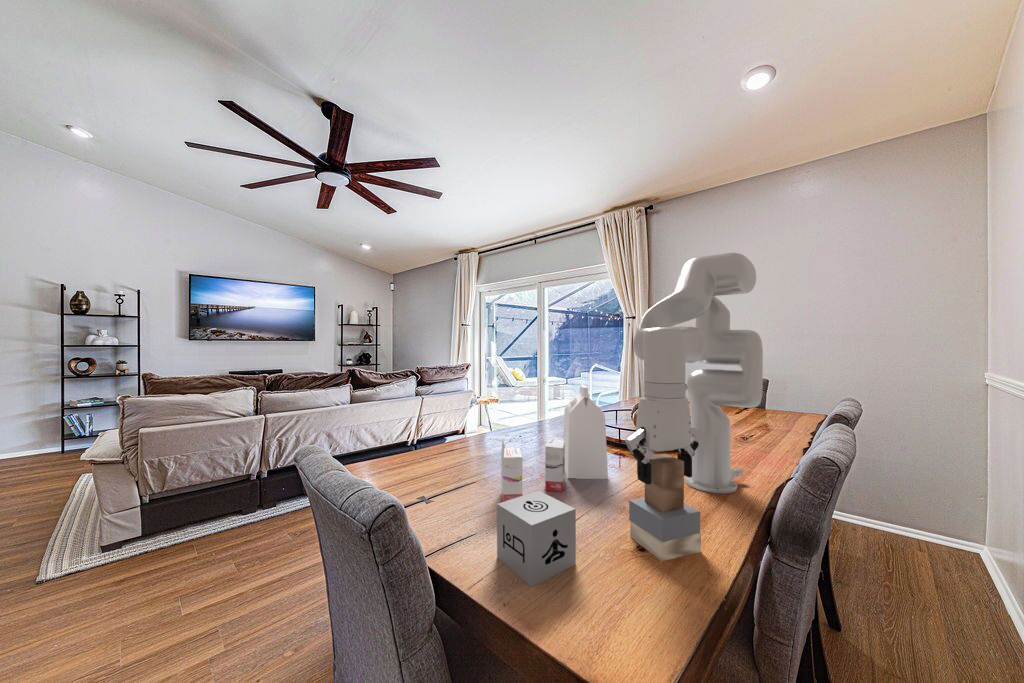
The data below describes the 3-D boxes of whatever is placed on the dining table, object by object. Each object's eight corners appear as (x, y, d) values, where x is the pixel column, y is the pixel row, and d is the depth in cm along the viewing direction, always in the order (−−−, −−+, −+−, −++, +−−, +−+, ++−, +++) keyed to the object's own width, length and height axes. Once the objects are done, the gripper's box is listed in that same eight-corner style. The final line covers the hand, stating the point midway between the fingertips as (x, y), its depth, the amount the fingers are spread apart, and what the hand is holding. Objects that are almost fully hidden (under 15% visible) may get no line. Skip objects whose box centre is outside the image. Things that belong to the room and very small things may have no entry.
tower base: (666, 531, 79) (666, 512, 79) (701, 554, 70) (700, 533, 70) (630, 539, 76) (630, 519, 76) (661, 564, 67) (661, 541, 67)
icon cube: (497, 558, 68) (496, 503, 68) (538, 541, 74) (538, 490, 74) (531, 587, 60) (531, 525, 60) (575, 565, 66) (575, 508, 66)
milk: (608, 479, 108) (607, 388, 108) (567, 479, 108) (567, 388, 108) (598, 465, 120) (598, 384, 120) (562, 465, 120) (562, 384, 120)
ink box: (563, 493, 98) (563, 447, 98) (544, 491, 99) (544, 446, 99) (565, 480, 106) (565, 439, 107) (548, 479, 107) (548, 438, 107)
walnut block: (664, 498, 76) (665, 453, 76) (683, 508, 72) (684, 461, 72) (644, 501, 75) (644, 456, 75) (662, 512, 70) (662, 464, 70)
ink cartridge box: (523, 506, 90) (523, 444, 90) (502, 506, 90) (502, 445, 90) (519, 491, 99) (519, 435, 99) (500, 492, 98) (500, 436, 98)
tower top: (664, 512, 79) (664, 493, 79) (700, 532, 70) (700, 511, 70) (629, 520, 75) (629, 500, 75) (662, 542, 67) (662, 519, 67)
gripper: (684, 386, 79) (685, 466, 80) (614, 391, 74) (615, 477, 74) (714, 390, 72) (715, 479, 73) (639, 396, 67) (640, 492, 67)
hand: (664, 478), depth 73 cm, fingers open, 9 cm apart
